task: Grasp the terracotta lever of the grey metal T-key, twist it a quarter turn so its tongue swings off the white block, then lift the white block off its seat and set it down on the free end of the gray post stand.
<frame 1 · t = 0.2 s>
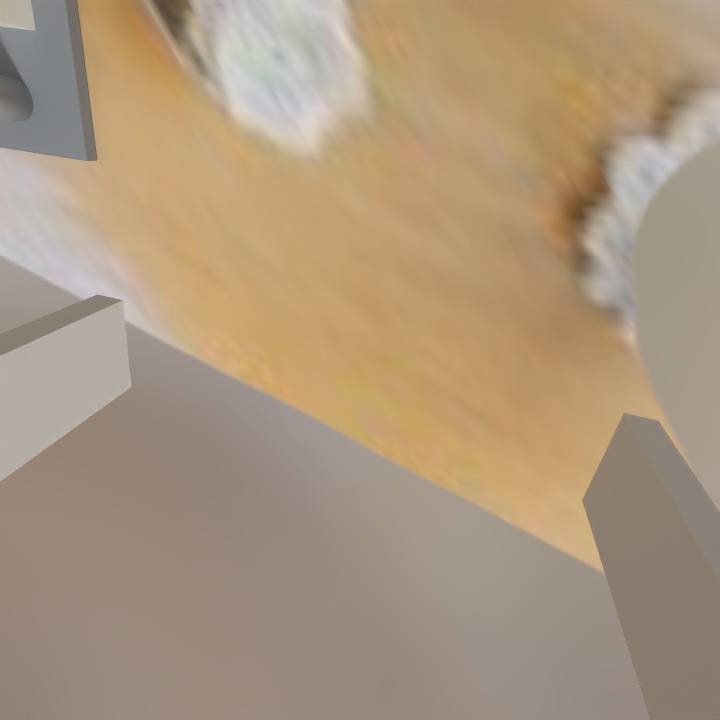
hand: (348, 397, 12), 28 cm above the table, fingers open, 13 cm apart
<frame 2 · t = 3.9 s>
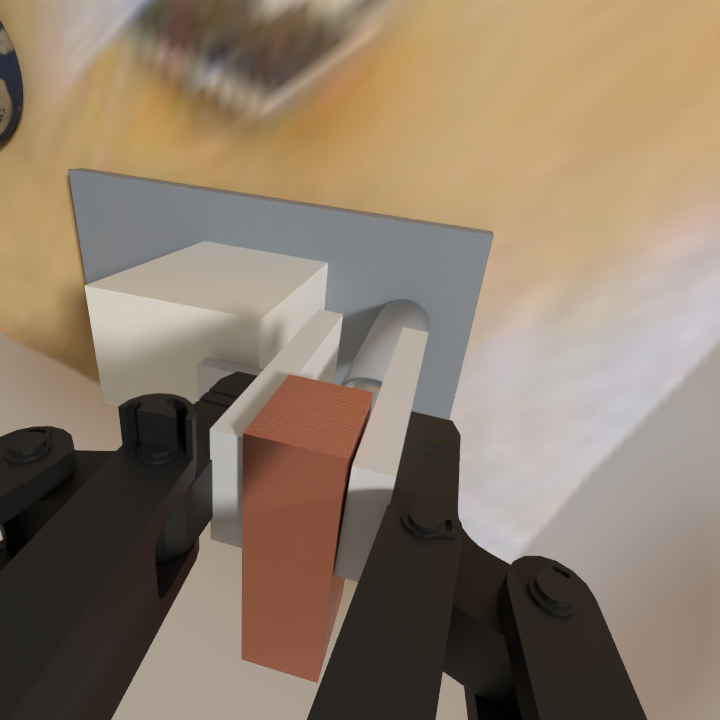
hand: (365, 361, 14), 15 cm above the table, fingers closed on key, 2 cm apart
white block: (263, 298, 29), point 1 cm above the table, touching gray post stand
key: (256, 424, 14), point 17 cm above the table, hinge at -0.3°, touching gripper
gray post stand: (271, 292, 30), on the table
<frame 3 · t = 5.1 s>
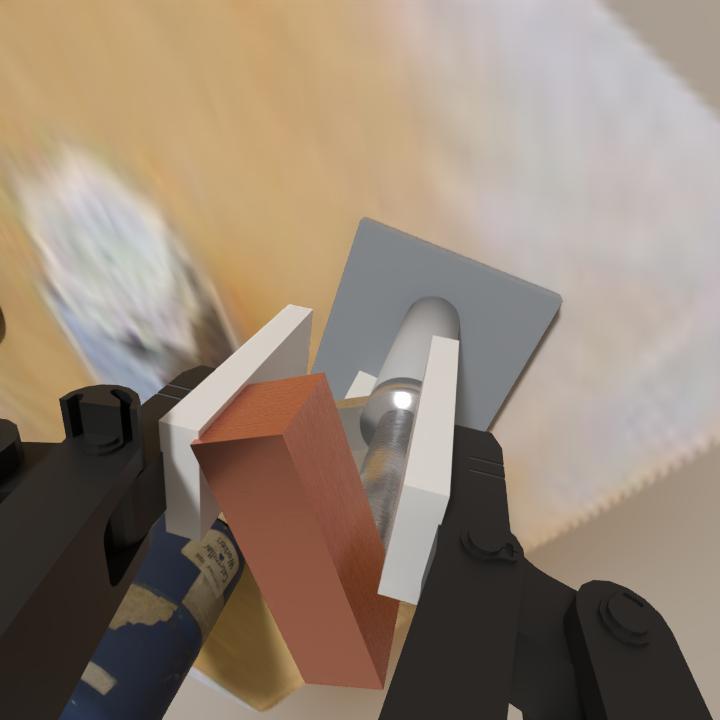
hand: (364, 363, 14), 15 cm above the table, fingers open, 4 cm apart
white block: (381, 434, 32), point 1 cm above the table, touching gray post stand
canister: (205, 537, 43), on the table
key: (278, 453, 14), point 17 cm above the table, hinge at -55.1°, touching gripper
gray post stand: (384, 425, 33), on the table
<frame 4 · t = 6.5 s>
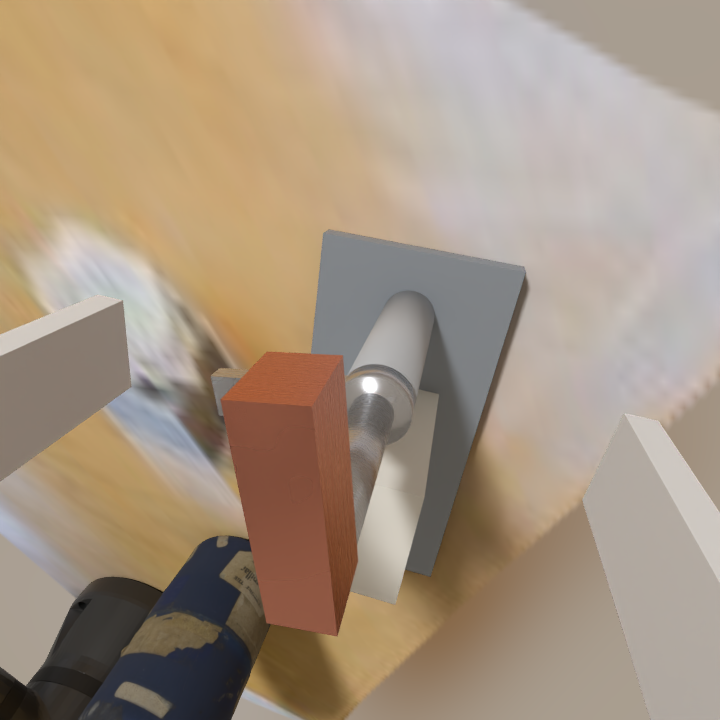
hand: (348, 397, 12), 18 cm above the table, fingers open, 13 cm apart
white block: (385, 431, 33), point 1 cm above the table, touching gray post stand
canister: (243, 562, 45), on the table
key: (262, 415, 15), point 17 cm above the table, hinge at -78.9°
gray post stand: (388, 422, 34), on the table
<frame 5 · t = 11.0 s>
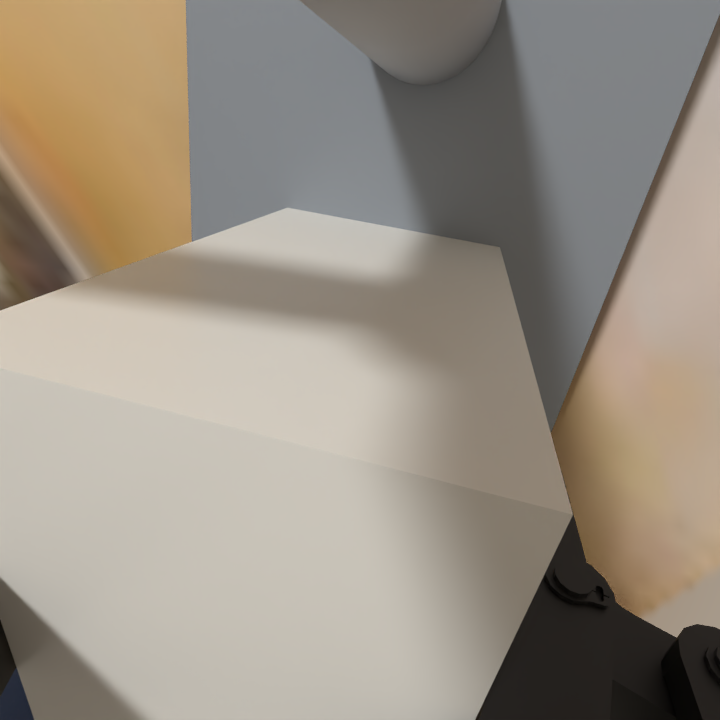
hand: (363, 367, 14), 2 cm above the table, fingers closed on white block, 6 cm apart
white block: (368, 355, 15), point 1 cm above the table, touching gray post stand, gripper
canister: (134, 614, 26), on the table
gray post stand: (376, 340, 16), on the table
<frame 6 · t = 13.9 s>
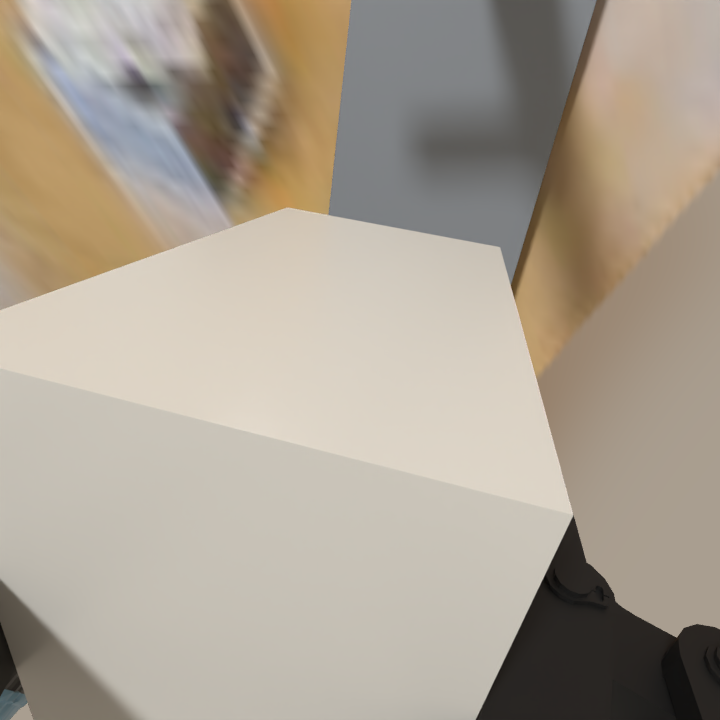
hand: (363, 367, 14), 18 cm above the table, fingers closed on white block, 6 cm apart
white block: (368, 355, 14), point 17 cm above the table, touching gripper
gray post stand: (452, 86, 26), on the table
when the fingers open (4 cm above the table, at t = 16.8 s): white block drops 1 cm, resting on gray post stand.
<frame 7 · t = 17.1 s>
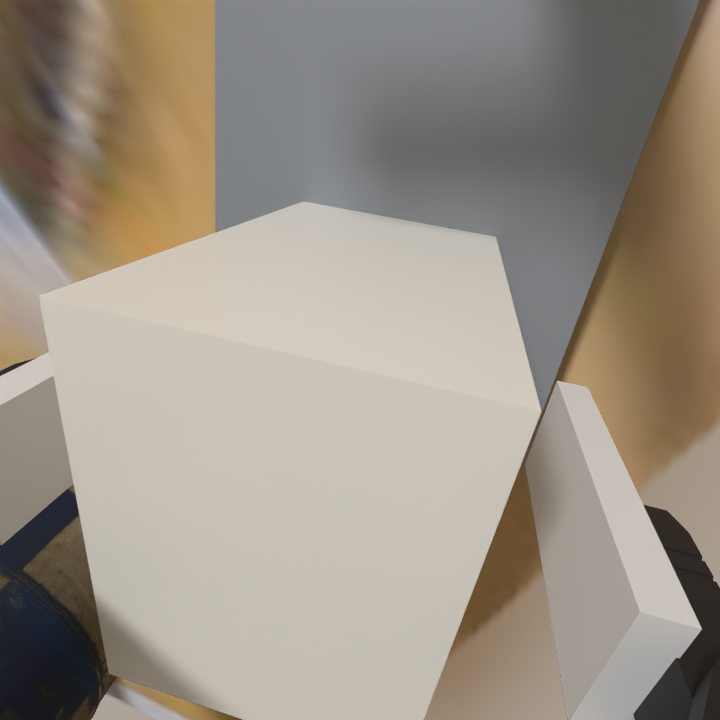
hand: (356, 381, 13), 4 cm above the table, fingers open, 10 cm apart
white block: (376, 337, 16), point 1 cm above the table, touching gray post stand
canister: (139, 475, 23), on the table
gray post stand: (435, 29, 13), on the table
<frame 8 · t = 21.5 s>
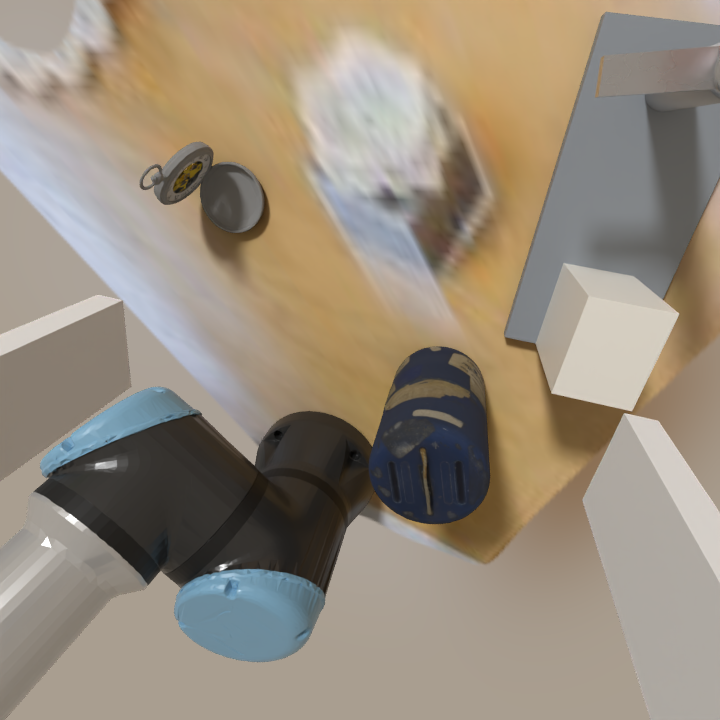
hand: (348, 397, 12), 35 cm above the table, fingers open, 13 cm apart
white block: (582, 311, 42), point 1 cm above the table, touching gray post stand
pocket watch: (228, 187, 46), on the table
canister: (439, 380, 50), on the table
gray post stand: (617, 209, 39), on the table
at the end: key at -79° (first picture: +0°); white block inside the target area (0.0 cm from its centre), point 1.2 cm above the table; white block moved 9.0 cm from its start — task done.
